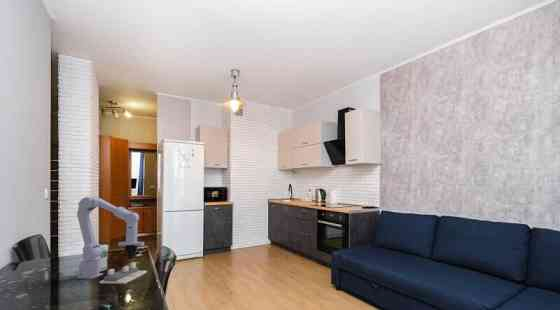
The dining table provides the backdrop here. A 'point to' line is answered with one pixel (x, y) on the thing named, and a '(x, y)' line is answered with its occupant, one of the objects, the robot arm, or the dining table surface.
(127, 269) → the knob middle
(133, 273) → the switch unit
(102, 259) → the syrup box
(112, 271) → the knob near
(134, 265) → the knob far
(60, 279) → the dining table surface
